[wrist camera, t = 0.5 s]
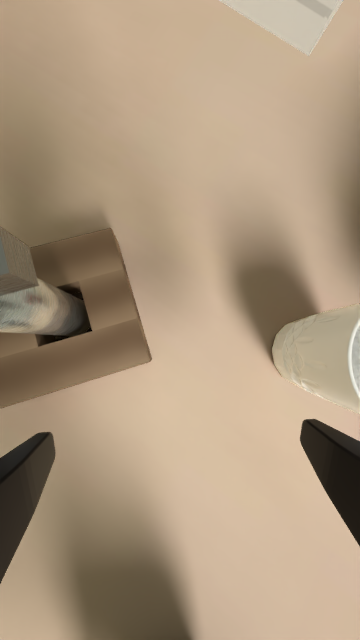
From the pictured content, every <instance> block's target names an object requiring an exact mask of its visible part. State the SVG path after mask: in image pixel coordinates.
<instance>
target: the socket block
mask: <svg viewBox="0 0 360 640" xmlns="http://www.w3.org/2000/svg"><path fill="white" fill-rule="evenodd" d="M29 249H30V253H31V257H32V261H33V265H34V269H35V272H36V276H37V278H38V279H40V280H42V281H44V282H46V283H48V284H50V285H52V286H54V287H56V288H58V289H61V290H63V291H65V292H67V293H69V294H75V293H78V292H82V295H83V299H84V303H85V306H86V310H87V314H88V317H89V321H90V325H91V328H92V331H91V332H88V333H84V334H81V335H77V336H74V337H71V338H67V339H64V340H60V341H57V342H55V339H54V336H53V335H45V334H26V333H8V332H0V408H4V407H7V406H10V405H13V404H16V403H20V402H23V401H26V400H29V399H32V398H36V397H39V396H42V395H45V394H48V393H52V392H55V391H58V390H61V389H65V388H68V387H71V386H74V385H77V384H81V383H84V382H87V381H90V380H93V379H97V378H100V377H103V376H106V375H110V374H113V373H116V372H119V371H122V370H126V369H129V368H132V367H135V366H138V365H142V364H145V363H148V362H150V361H151V360H152V358H151V354H150V351H149V347H148V344H147V340H146V337H145V334H144V330H143V327H142V323H141V320H140V316H139V313H138V309H137V306H136V303H135V299H134V296H133V292H132V289H131V285H130V282H129V278H128V275H127V272H126V268H125V265H124V261H123V258H122V254H121V251H120V248H119V244H118V242H117V239H116V237H115V235H114V233H113V231H112V229H111V228H109V229H105V230H100V231H96V232H92V233H88V234H84V235H80V236H76V237H72V238H68V239H64V240H60V241H56V242H52V243H48V244H44V245H40V246H36V247H32V248H29Z"/></svg>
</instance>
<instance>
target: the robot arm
mask: <svg viewBox="0 0 360 640" xmlns="http://www.w3.org/2000/svg"><path fill="white" fill-rule="evenodd" d="M300 441H301V445H302V447H303V449H304V451H305V453H306V455H307V457H308V459H309V461H310V463H311V464H312V466H313V468H314V470H315V472H316V474H317V476H318V478H319V480H320V482H321V484H322V486H323V487H324V489H325V491H326V493H327V494H328V496H329V498H330V499H331V501H332V503H333V504H334V506H335V507H336V509H337V511H338V512H339V514H340V515H341V517H342V519H343V520H344V522H345V524H346V525H347V527H348V528H349V530H350V532H351V533H352V535H353V536H354V538H355V540H356V541H357V543H358V544H359V546H360V441H358V440H356V439H354V438H352V437H350V436H348V435H346V434H344V433H342V432H340V431H338V430H336V429H334V428H332V427H330V426H328V425H326V424H324V423H322V422H320V421H318V420H316V419H306V420H304V421H303V423H302V429H301V435H300ZM54 459H55V446H54V439H53V435H52V433H51V432H41V433H37V434H36V435H34V436H33V437H31V438H30V439H28V440H27V441H25V442H24V443H22V444H21V445H19V446H18V447H16V448H15V449H13V450H12V451H10V452H9V453H7V454H6V455H4V456H3V457H1V458H0V583H1V581H2V579H3V577H4V575H5V573H6V571H7V569H8V566H9V564H10V562H11V560H12V558H13V556H14V554H15V552H16V550H17V548H18V546H19V543H20V541H21V539H22V537H23V535H24V533H25V531H26V529H27V527H28V525H29V523H30V520H31V518H32V516H33V514H34V512H35V509H36V507H37V504H38V502H39V499H40V496H41V494H42V491H43V488H44V486H45V483H46V480H47V478H48V475H49V472H50V470H51V467H52V464H53V462H54Z"/></svg>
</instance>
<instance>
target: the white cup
mask: <svg viewBox="0 0 360 640" xmlns="http://www.w3.org/2000/svg"><path fill="white" fill-rule="evenodd" d="M272 354H273V360H274V365H275V366H276V368H277V370H278V371H279V373H280V374H281V376H282V377H283V378H284V379H286V380H288V381H289V382H291V383H292V384H294V385H296V386H298V387H300V388H303V389H304V390H306V391H308V392H310V393H312V394H314V395H316V396H319V397H321V398H323V399H325V400H327V401H330V402H331V403H334V404H336V405H338V406H341V407H343V408H345V409H348V410H350V411H352V412H355V413H357V414H359V415H360V303H358V304H354V305H350V306H346V307H342V308H337V309H333V310H329V311H326V312H322V313H319V314H315V315H312V316H308V317H307V318H303V319H299V320H296V321H294V322H291V323H288V324H286V325H285V326H284V327H283V328H282V329H281V330H280V331H279V332H278V333H277V334H276V337H275V340H274V344H273V347H272Z"/></svg>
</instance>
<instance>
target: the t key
mask: <svg viewBox="0 0 360 640" xmlns="http://www.w3.org/2000/svg"><path fill="white" fill-rule="evenodd" d="M90 326H91V325H90V321H89V317H88V314H87V310H86V306H85V303H84V301H83V300H81V299H79V298H77V297H75V296H73V295H71V294H69V293H67V292H65V291H63V290H61V289H58V288H56V287H54V286H52V285H50V284H48V283H46V282H44V281H42V280H40V279H38V278H37V276H36V272H35V269H34V265H33V261H32V257H31V253H30V249H29V246H27V245H26V244H24V243H23V242H22V241H20V240H19V239H17V238H16V237H14V236H13V235H12V234H10V233H9V232H7V231H6V230H4V229H3V228H2V227H0V332H8V333H26V334H45V335H63V336H77V335H81V334H83V333H84V332H86V331H87V330H88V329H89V327H90Z"/></svg>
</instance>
